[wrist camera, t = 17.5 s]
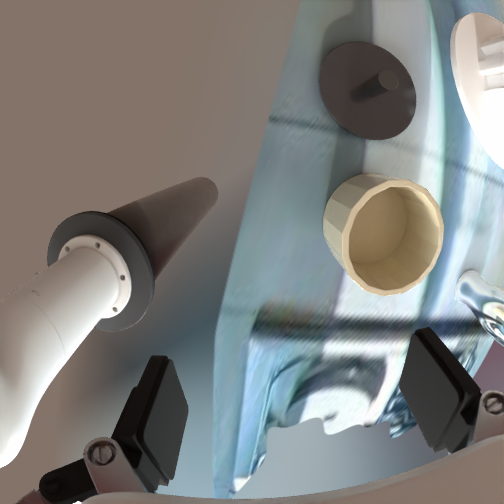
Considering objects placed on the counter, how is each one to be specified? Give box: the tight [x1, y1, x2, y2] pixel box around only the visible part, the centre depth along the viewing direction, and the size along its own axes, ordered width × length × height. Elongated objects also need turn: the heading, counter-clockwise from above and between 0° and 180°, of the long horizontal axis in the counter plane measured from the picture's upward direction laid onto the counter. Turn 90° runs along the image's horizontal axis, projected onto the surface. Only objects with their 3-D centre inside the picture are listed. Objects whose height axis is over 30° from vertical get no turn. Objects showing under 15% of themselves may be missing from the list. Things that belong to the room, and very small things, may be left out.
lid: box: [318, 42, 416, 140], centre depth 26 cm, size 13×13×6 cm
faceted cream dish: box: [323, 174, 444, 296], centre depth 31 cm, size 12×12×8 cm
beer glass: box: [454, 270, 504, 347], centre depth 31 cm, size 7×7×15 cm
